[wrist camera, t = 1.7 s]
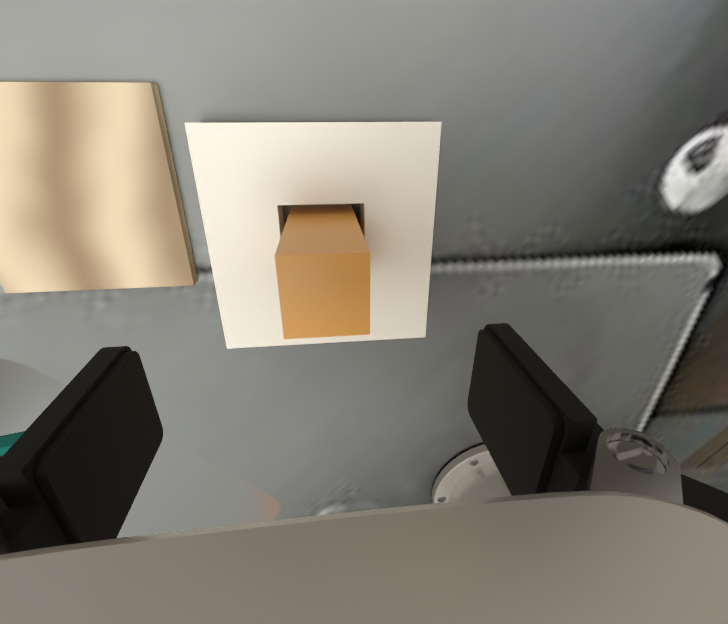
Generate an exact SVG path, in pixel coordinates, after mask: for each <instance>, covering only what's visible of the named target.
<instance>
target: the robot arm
mask: <svg viewBox="0 0 728 624" xmlns="http://www.w3.org/2000/svg"><path fill="white" fill-rule="evenodd" d="M468 411H469V415H470V417H471V419H472V421H473V423H474V424H475V426H476V428H477V430H478V432H479V434H480V436H481V438H482V440H483V442H484V444H483V445H480V446H477V447H475V448H472V449H470V450H468V451H466V452H464V453H462V454H460V455H459V456H457V457H456V458H455V459H453V460H452V461H451V462H450V463H449V464H448V465H447V466H446V467H445V468H444V469H443V470H442V471H441V472H440V474H439V475H438V477H437V478H436V481H435V483H434V485H433V489H432V503H433V504H423V505H414V506H404V507H394V508H384V509H375V510H366V511H356V512H347V513H338V514H329V515H319V516H310V517H301V518H292V519H283V520H274V521H265V522H256V523H246V524H237V525H229V526H220V527H212V528H202V529H194V530H185V531H176V532H167V533H159V534H150V535H142V536H132V537H124V538H117V535H118V533H119V531H120V529H121V527H122V525H123V523H124V520H125V518H126V516H127V514H128V512H129V510H130V508H131V506H132V504H133V501H134V499H135V497H136V495H137V493H138V491H139V488H140V486H141V484H142V482H143V480H144V478H145V476H146V474H147V471H148V469H149V467H150V465H151V463H152V461H153V459H154V456H155V454H156V452H157V450H158V448H159V446H160V444H161V441H162V438H163V428H162V424H161V421H160V418H159V415H158V412H157V409H156V406H155V403H154V399H153V396H152V393H151V390H150V387H149V384H148V381H147V378H146V375H145V371H144V368H143V365H142V362H141V359H140V356H139V354H138V353H137V352H136V351H132V350H131V349H130V348H129V347H127V346H122V347H105V348H102V349H100V350H99V351H98V352H97V353H96V355H95V356H94V357H93V358H92V359H91V360H90V361H89V362H88V363H87V364H86V365H85V367H84V368H83V369H82V370H81V371H80V372H79V373H78V374H77V375H76V376H75V377H74V379H73V380H72V381H71V382H70V383H69V384H68V385H67V386H66V387H65V388H64V390H63V391H62V392H61V393H60V394H59V395H58V396H57V397H56V398H55V399H54V400H53V402H52V403H51V404H50V405H49V406H48V407H47V408H46V409H45V410H44V411H43V412H42V414H41V415H40V416H39V417H38V418H37V419H36V420H35V421H34V422H33V424H32V425H31V426H30V427H29V428H28V429H27V430H26V431H25V432H24V433H23V434H22V435H21V436H20V438H19V439H18V440H17V441H16V442H15V443H14V444H13V445H12V446H11V447H10V448H9V450H8V451H7V452H6V453H5V454H4V455H3V456H2V457H1V458H0V624H728V493H726V492H723V491H721V490H718V489H716V488H713V487H711V486H709V485H706V484H704V483H701V482H699V481H697V480H694V479H692V478H689V477H687V476H684V475H682V474H681V472H680V466H679V463H678V460H677V458H676V457H675V456H674V455H673V453H672V452H671V451H670V450H669V449H668V448H667V447H665V446H664V445H663V444H662V443H661V442H659V441H657V440H656V439H654V438H652V437H651V436H648V435H646V434H644V433H641V432H639V431H636V430H632V429H628V428H618V427H615V428H609V429H606V430H603V429H602V428H601V427H600V426H599V425H598V423H597V418H596V417H595V416H594V415H593V414H592V413H591V412H590V411H589V410H588V408H587V407H586V406H585V405H584V404H583V403H582V402H581V401H580V400H579V399H578V398H577V397H576V396H575V395H574V394H573V392H572V391H571V390H570V389H569V388H568V387H567V386H566V385H565V384H564V383H563V382H562V381H561V380H560V379H559V378H558V376H557V375H556V374H555V373H554V372H553V371H552V370H551V369H550V368H549V367H548V366H547V365H546V364H545V363H544V362H543V360H542V359H541V358H540V357H539V356H538V355H537V354H536V353H535V352H534V351H533V350H532V349H531V348H530V347H529V346H528V344H527V343H526V342H525V341H524V340H523V339H522V338H521V337H520V336H519V335H518V334H517V333H516V332H515V331H514V330H513V328H512V327H511V326H510V325H509V324H507V323H501V324H487V325H486V326H485V328H484V330H480V331H479V333H478V339H477V345H476V352H475V358H474V364H473V371H472V377H471V384H470V390H469V397H468Z"/></svg>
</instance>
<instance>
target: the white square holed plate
mask: <svg viewBox="0 0 728 624" xmlns="http://www.w3.org/2000/svg"><path fill="white" fill-rule="evenodd" d="M441 123H442V122H260V123H185V128H186V133H187V139H188V144H189V149H190V155H191V160H192V165H193V171H194V176H195V181H196V186H197V192H198V197H199V202H200V208H201V213H202V218H203V224H204V229H205V234H206V240H207V245H208V250H209V256H210V261H211V266H212V272H213V277H214V282H215V287H216V293H217V298H218V303H219V309H220V314H221V319H222V325H223V330H224V335H225V341H226V346H227V349H228V348H245V347H263V346H280V345H298V344H315V343H333V342H350V341H367V340H385V339H402V338H420V337H425V334H426V321H427V308H428V295H429V281H430V268H431V255H432V242H433V228H434V215H435V202H436V189H437V176H438V162H439V149H440V136H441ZM354 203H360V228H361V230H362V233H363V235H364V238H365V240H366V243H367V245H368V248H369V250H370V335H352V336H334V337H316V338H298V339H284V336H283V327H282V318H281V309H280V300H279V291H278V282H277V273H276V264H275V253H276V250H277V247H278V244H279V241H280V238H281V235H282V232H283V229H284V217H283V206H282V205H312V204H354Z"/></svg>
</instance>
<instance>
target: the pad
mask: <svg viewBox="0 0 728 624" xmlns="http://www.w3.org/2000/svg"><path fill="white" fill-rule="evenodd" d="M197 281H198V277H197V273H196V268H195V263H194V258H193V253H192V248H191V244H190V239H189V234H188V229H187V224H186V220H185V215H184V210H183V205H182V200H181V195H180V191H179V186H178V181H177V176H176V171H175V167H174V162H173V157H172V152H171V147H170V143H169V138H168V133H167V128H166V123H165V118H164V114H163V109H162V104H161V99H160V94H159V90H158V85H157V84H154V83H123V82H0V283H1V285H2V287H3V289H4V291H5V293H22V292H46V291H70V290H93V289H117V288H141V287H165V286H188V285H195V283H196V282H197Z"/></svg>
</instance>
